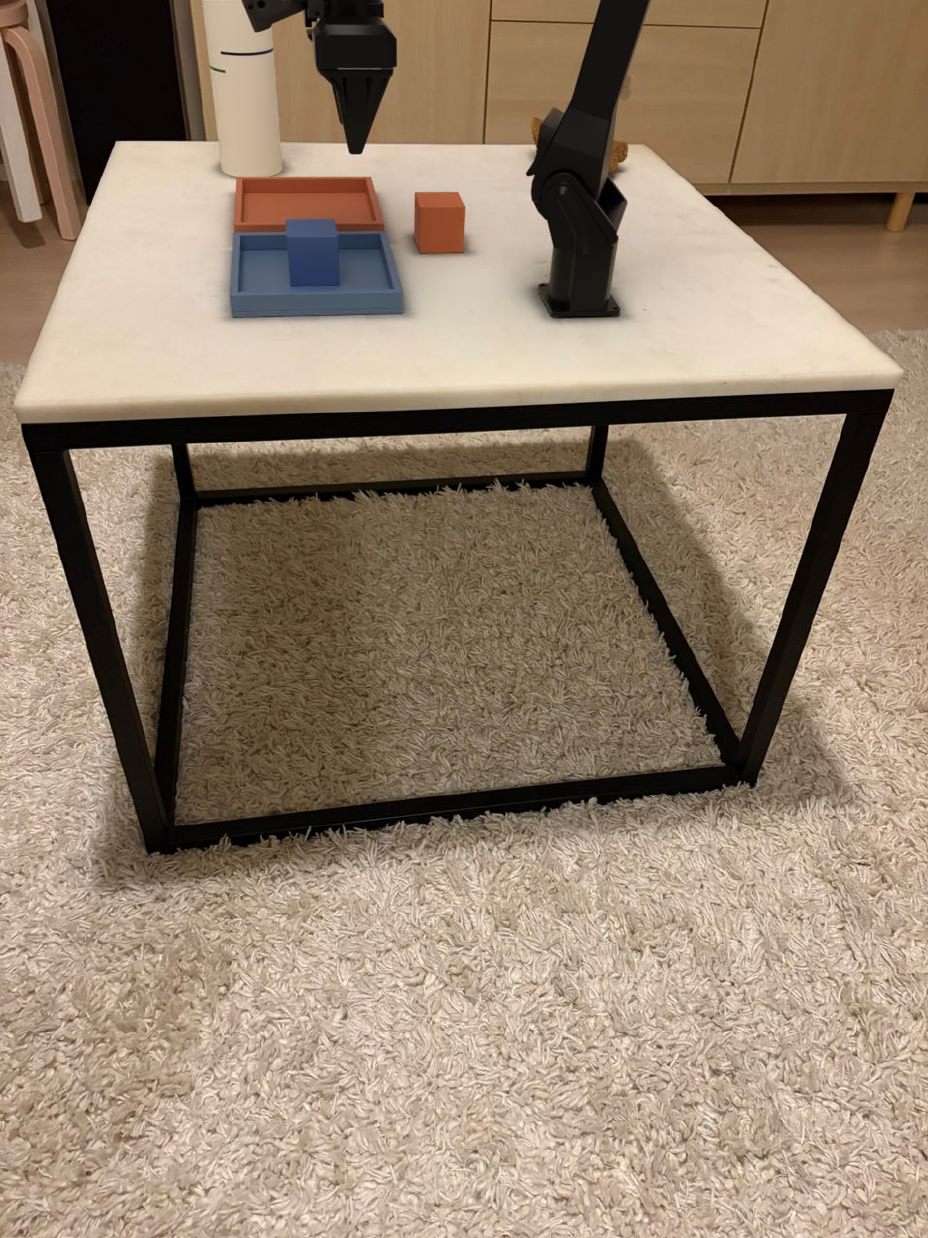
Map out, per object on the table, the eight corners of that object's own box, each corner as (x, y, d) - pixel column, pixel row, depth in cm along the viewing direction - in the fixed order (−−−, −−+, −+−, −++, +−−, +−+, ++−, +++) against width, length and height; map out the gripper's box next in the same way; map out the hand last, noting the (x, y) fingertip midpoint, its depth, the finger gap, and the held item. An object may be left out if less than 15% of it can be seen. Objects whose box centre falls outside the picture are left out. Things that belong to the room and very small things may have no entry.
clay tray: (384, 243, 96) (384, 223, 95) (235, 244, 94) (233, 224, 93) (371, 194, 107) (371, 176, 106) (238, 195, 105) (236, 176, 104)
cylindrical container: (270, 180, 109) (247, -87, 93) (211, 174, 110) (179, -93, 93) (290, 163, 115) (272, -93, 98) (235, 156, 115) (208, -99, 99)
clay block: (463, 252, 96) (465, 206, 93) (419, 253, 95) (420, 206, 92) (456, 236, 99) (458, 191, 96) (414, 236, 98) (414, 191, 95)
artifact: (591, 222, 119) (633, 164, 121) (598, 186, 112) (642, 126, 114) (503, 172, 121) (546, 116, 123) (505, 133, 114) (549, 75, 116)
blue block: (339, 285, 87) (337, 236, 84) (290, 286, 86) (286, 236, 83) (336, 266, 90) (334, 218, 87) (289, 267, 89) (285, 218, 86)
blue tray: (402, 313, 84) (402, 291, 83) (232, 317, 82) (229, 294, 80) (386, 250, 95) (386, 230, 94) (235, 252, 93) (233, 232, 91)
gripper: (235, -97, 78) (256, 110, 89) (235, -70, 65) (259, 172, 75) (369, -93, 80) (374, 110, 90) (397, -65, 66) (398, 170, 77)
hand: (350, 138), depth 83 cm, fingers open, 9 cm apart
